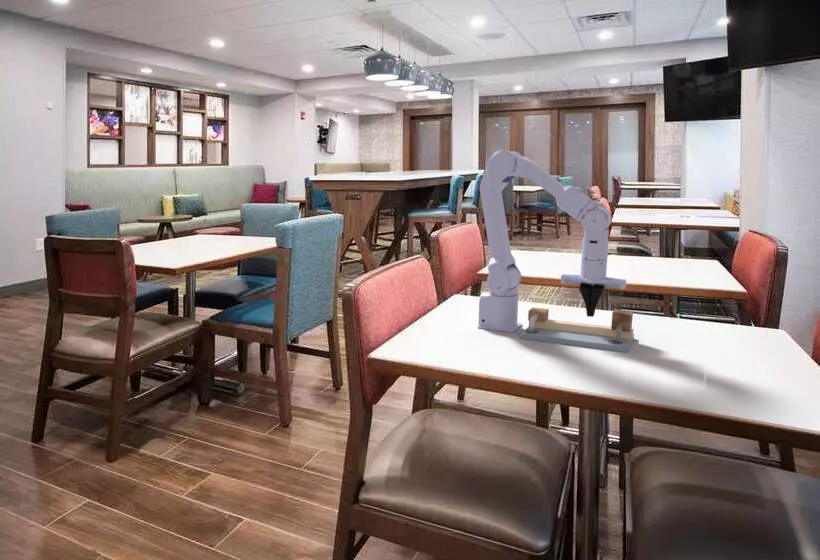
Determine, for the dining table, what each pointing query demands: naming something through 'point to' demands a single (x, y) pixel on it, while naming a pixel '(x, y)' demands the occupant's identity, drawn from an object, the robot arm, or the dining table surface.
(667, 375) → the dining table surface
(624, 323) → the slider
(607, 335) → the gauge board
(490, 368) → the dining table surface
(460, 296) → the dining table surface
